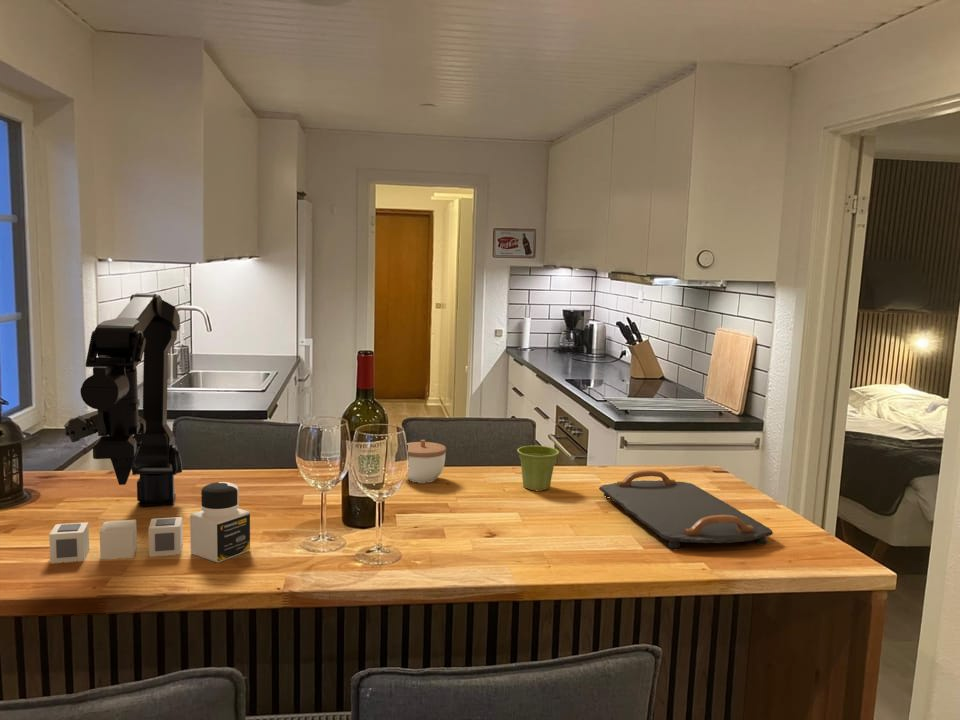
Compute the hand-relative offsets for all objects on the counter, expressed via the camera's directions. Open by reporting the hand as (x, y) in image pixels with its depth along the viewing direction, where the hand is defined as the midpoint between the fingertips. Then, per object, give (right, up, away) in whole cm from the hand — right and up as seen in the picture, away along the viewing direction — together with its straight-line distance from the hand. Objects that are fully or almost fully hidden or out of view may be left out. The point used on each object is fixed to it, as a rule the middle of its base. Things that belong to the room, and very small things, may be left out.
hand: (122, 484), depth 140 cm
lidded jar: (+49, -6, +46) cm, 68 cm away
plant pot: (+75, -8, +43) cm, 87 cm away
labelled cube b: (-6, -11, -6) cm, 14 cm away
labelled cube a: (+8, -11, -2) cm, 14 cm away
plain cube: (+1, -11, -4) cm, 12 cm away
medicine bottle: (+18, -12, -2) cm, 21 cm away
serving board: (+103, -12, +25) cm, 107 cm away
